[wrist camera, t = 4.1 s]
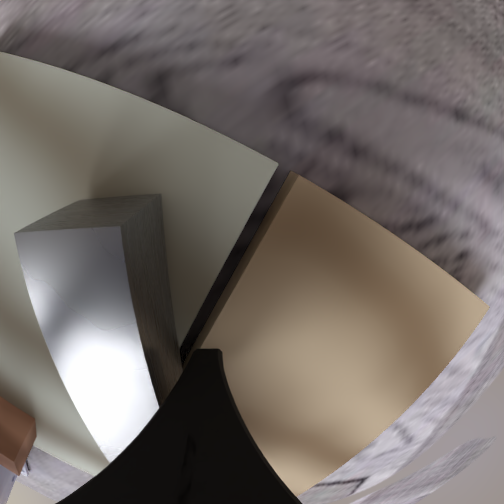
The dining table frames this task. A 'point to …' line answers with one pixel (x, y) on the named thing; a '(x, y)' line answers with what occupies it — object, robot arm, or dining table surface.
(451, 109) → the dining table surface
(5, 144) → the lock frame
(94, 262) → the bar
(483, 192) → the dining table surface
